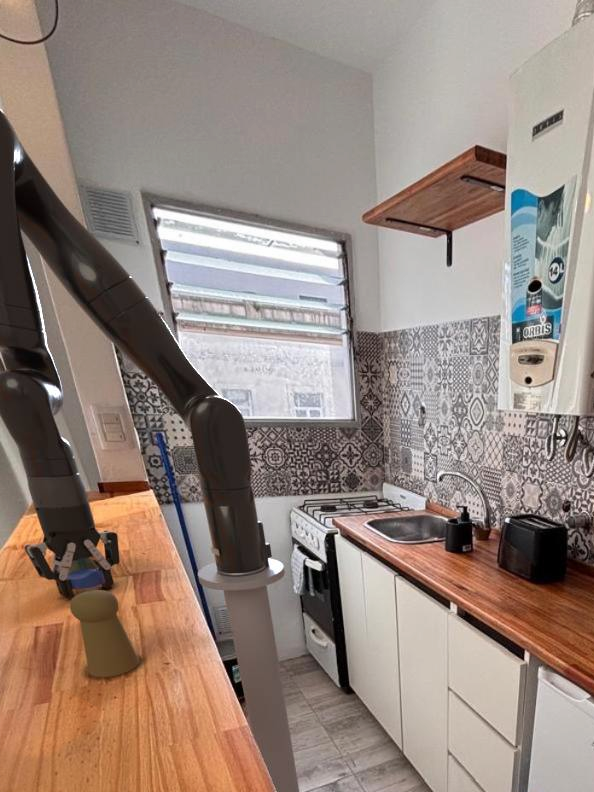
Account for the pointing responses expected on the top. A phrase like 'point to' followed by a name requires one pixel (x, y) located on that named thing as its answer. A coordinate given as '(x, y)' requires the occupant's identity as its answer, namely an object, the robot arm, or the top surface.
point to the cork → (103, 634)
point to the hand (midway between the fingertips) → (88, 592)
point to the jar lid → (86, 578)
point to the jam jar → (82, 565)
